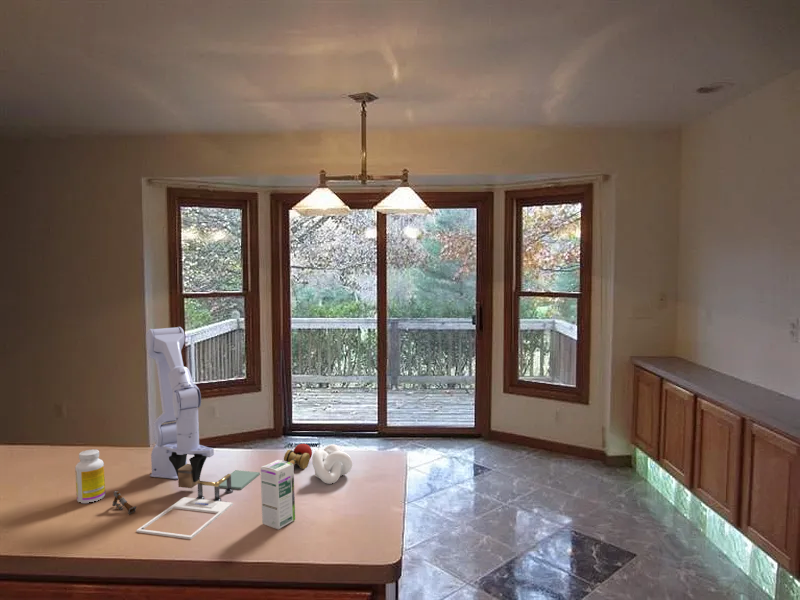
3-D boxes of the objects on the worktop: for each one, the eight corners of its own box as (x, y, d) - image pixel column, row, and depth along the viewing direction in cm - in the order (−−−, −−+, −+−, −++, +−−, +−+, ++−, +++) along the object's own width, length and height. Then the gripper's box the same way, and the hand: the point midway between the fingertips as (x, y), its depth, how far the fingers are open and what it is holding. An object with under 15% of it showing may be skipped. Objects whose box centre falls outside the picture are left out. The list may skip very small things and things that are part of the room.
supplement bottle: (110, 496, 145) (109, 450, 144) (87, 506, 139) (85, 458, 138) (94, 491, 148) (92, 446, 147) (71, 501, 142) (68, 454, 141)
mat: (215, 487, 151) (215, 484, 151) (235, 472, 162) (235, 470, 161) (241, 489, 149) (241, 487, 149) (259, 474, 160) (259, 472, 160)
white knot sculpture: (353, 470, 163) (353, 441, 162) (351, 486, 151) (350, 455, 150) (316, 470, 163) (316, 442, 162) (311, 487, 151) (310, 456, 150)
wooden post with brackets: (114, 501, 140) (118, 487, 139) (132, 520, 137) (136, 506, 136) (108, 504, 138) (111, 490, 137) (126, 523, 135) (130, 508, 134)
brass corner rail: (194, 500, 142) (194, 481, 142) (211, 488, 150) (211, 469, 150) (218, 503, 141) (218, 483, 140) (234, 490, 148) (233, 472, 148)
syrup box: (278, 530, 126) (277, 470, 125) (261, 523, 130) (259, 465, 128) (295, 520, 131) (294, 463, 130) (278, 514, 134) (277, 458, 133)
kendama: (294, 486, 154) (319, 456, 171) (289, 466, 153) (315, 438, 170) (271, 488, 157) (298, 458, 174) (266, 468, 156) (293, 440, 173)
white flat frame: (232, 501, 140) (191, 536, 122) (232, 506, 140) (191, 541, 123) (183, 496, 143) (136, 529, 126) (184, 500, 143) (136, 533, 126)
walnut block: (178, 487, 147) (177, 469, 146) (187, 481, 150) (186, 463, 150) (191, 488, 146) (190, 470, 145) (200, 482, 150) (199, 465, 149)
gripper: (155, 434, 145) (156, 483, 146) (202, 438, 141) (204, 488, 142) (171, 426, 152) (173, 473, 153) (217, 430, 148) (218, 477, 149)
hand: (189, 479), depth 148 cm, fingers closed on walnut block, 4 cm apart
